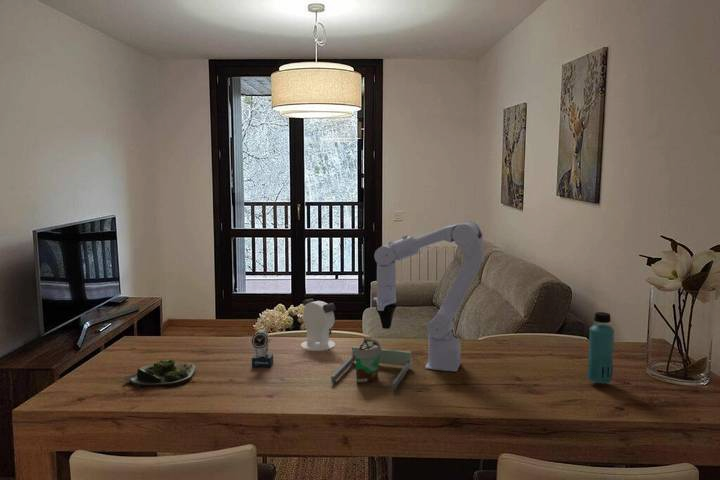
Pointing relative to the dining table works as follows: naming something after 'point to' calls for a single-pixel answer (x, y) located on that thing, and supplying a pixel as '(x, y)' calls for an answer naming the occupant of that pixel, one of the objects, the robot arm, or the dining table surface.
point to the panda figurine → (318, 325)
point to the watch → (261, 350)
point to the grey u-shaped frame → (385, 358)
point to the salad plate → (162, 374)
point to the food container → (367, 361)
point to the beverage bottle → (601, 350)
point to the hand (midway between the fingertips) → (386, 328)
